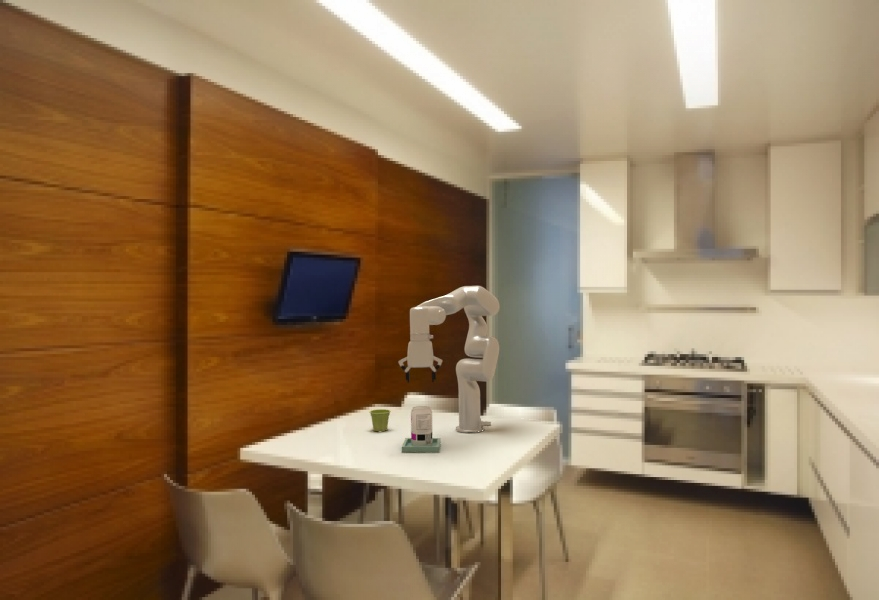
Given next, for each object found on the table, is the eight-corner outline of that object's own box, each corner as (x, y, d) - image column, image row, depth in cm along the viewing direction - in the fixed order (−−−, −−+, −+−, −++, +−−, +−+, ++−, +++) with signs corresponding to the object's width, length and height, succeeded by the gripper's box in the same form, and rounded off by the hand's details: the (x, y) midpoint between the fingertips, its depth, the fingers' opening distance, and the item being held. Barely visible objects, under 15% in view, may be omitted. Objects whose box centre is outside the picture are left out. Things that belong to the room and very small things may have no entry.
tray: (440, 443, 216) (440, 437, 216) (438, 452, 202) (438, 446, 202) (405, 443, 217) (405, 438, 217) (401, 452, 203) (401, 446, 203)
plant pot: (389, 432, 237) (389, 413, 237) (368, 433, 237) (368, 413, 237) (391, 428, 246) (391, 409, 246) (371, 428, 246) (371, 409, 246)
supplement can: (407, 447, 208) (407, 408, 208) (418, 442, 215) (417, 405, 215) (425, 449, 204) (425, 410, 204) (436, 445, 211) (435, 406, 212)
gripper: (442, 337, 216) (443, 380, 216) (399, 338, 216) (399, 381, 216) (441, 338, 208) (442, 382, 208) (396, 339, 209) (397, 383, 209)
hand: (420, 381), depth 212 cm, fingers open, 9 cm apart
